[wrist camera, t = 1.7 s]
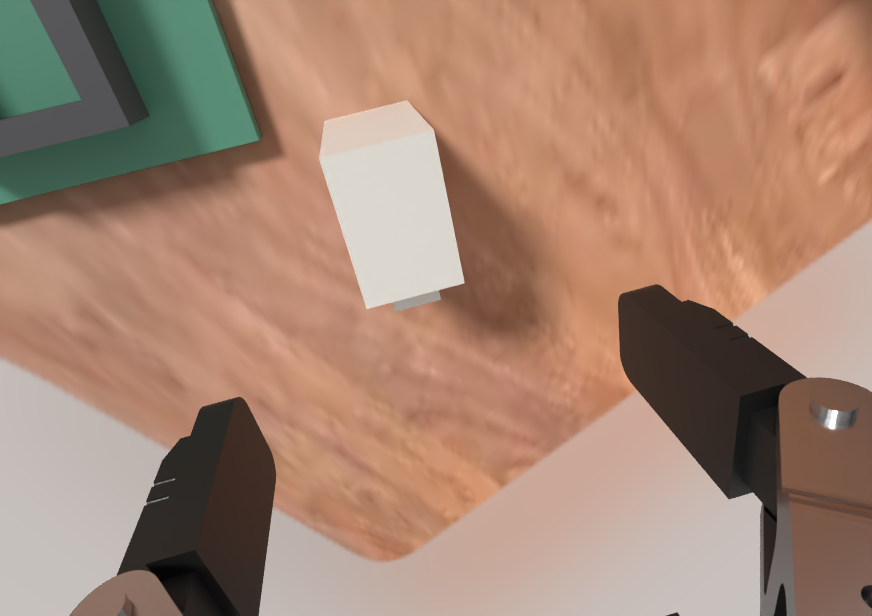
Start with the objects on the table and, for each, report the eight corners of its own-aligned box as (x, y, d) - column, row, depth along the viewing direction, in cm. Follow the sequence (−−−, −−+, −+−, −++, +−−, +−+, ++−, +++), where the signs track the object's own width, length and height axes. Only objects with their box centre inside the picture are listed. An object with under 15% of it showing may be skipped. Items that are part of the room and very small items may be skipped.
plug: (407, 100, 25) (433, 130, 18) (436, 235, 28) (468, 304, 21) (324, 120, 25) (319, 158, 18) (364, 254, 28) (373, 329, 21)
